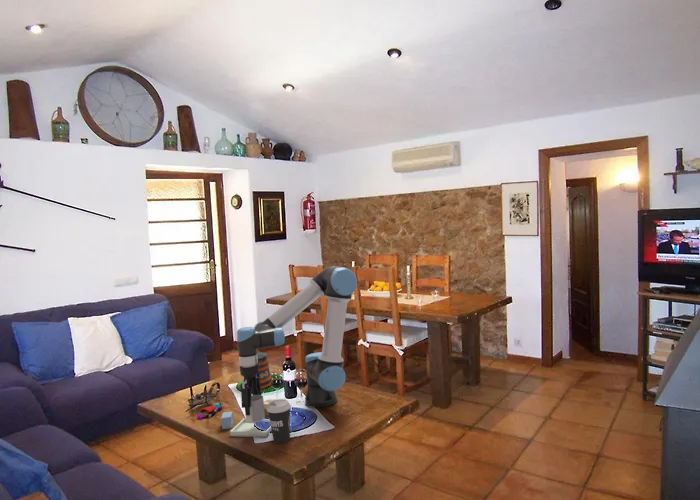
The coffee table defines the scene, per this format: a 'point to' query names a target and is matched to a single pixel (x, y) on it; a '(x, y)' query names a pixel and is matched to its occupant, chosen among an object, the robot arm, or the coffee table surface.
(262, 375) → the beer stein
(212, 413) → the toy
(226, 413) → the blue painted block
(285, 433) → the coffee cup
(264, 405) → the walnut block
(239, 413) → the coffee table surface
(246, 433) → the tray
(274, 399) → the beech block
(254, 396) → the cup
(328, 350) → the robot arm
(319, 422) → the coffee table surface
